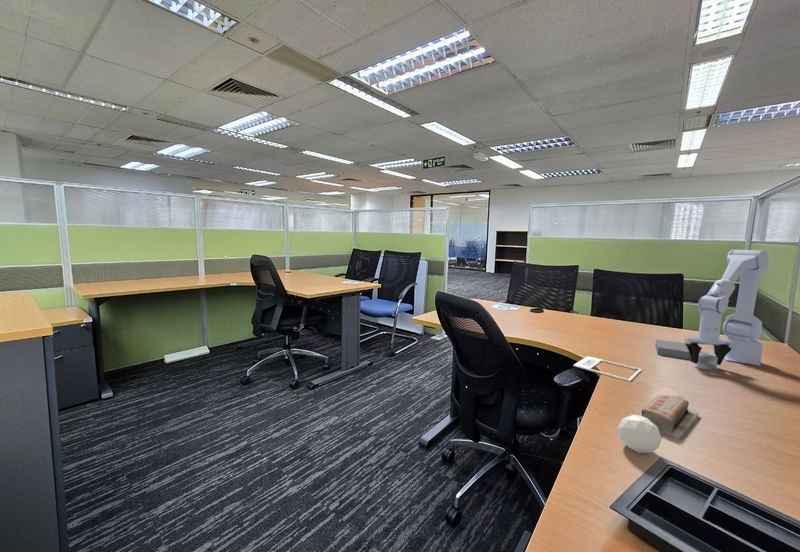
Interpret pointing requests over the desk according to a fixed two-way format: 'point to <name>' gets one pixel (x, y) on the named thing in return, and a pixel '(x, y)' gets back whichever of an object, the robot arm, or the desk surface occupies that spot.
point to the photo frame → (591, 362)
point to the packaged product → (670, 415)
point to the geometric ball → (639, 434)
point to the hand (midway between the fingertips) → (705, 363)
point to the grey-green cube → (707, 361)
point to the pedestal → (672, 349)
